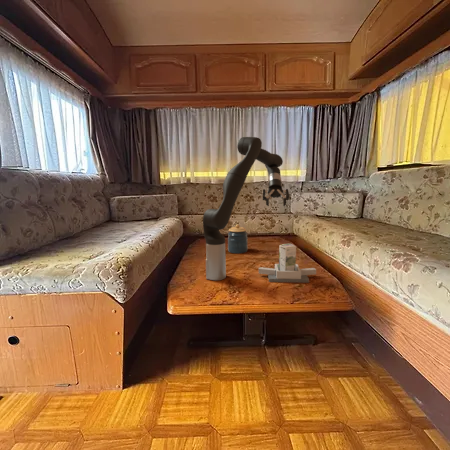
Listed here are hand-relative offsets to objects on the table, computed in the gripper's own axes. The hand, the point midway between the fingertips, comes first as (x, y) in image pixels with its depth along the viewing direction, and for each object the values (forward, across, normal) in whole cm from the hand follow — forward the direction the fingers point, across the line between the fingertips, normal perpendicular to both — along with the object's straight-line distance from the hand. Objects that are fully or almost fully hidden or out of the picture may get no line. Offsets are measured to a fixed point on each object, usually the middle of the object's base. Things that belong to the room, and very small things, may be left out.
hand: (276, 205), depth 149 cm
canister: (+5, -22, +41) cm, 47 cm away
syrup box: (+37, +4, +7) cm, 38 cm away
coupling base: (+38, +4, +8) cm, 39 cm away
